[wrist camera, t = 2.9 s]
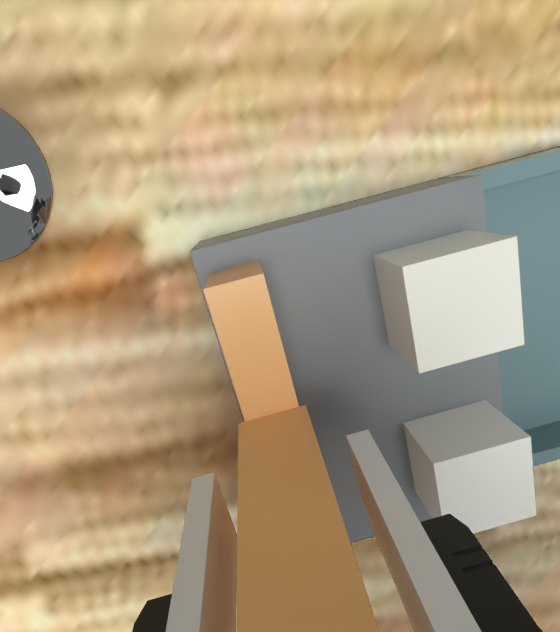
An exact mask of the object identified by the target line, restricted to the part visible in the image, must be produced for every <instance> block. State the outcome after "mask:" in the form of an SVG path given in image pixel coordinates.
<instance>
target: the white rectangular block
mask: <svg viewBox="0 0 560 632" xmlns="http://www.w3.org/2000/svg"><path fill="white" fill-rule="evenodd" d="M373 257H374V263H375V269H376V274H377V280H378V285H379V291H380V296H381V302H382V308H383V313H384V319H385V324H386V330H387V335H388V341H389V345H390V346H391V347H392V348H393V349H394V350H395V351H396V352H397V353H398V354H399V355H400V356H401V357H402V358H403V359H405V360H406V361H407V362H408V363H409V364H410V365H411V366H412V367H413V368H414V369H415V370H416V371H417V372H418V373H423V372H427V371H430V370H434V369H437V368H441V367H445V366H448V365H452V364H456V363H459V362H463V361H467V360H470V359H474V358H477V357H481V356H485V355H488V354H492V353H496V352H499V351H503V350H506V349H510V348H514V347H517V346H521V345H525V344H524V329H523V315H522V300H521V286H520V271H519V257H518V242H517V236H512V235H504V234H496V233H488V232H480V231H472V230H466V231H462V232H458V233H454V234H451V235H447V236H443V237H439V238H436V239H432V240H428V241H424V242H421V243H417V244H413V245H410V246H406V247H402V248H398V249H395V250H391V251H387V252H383V253H380V254H376V255H373Z"/></svg>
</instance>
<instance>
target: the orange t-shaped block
mask: <svg viewBox="0 0 560 632" xmlns="http://www.w3.org/2000/svg"><path fill="white" fill-rule="evenodd" d="M203 291H204V294H205V297H206V300H207V303H208V307H209V310H210V313H211V316H212V319H213V322H214V325H215V329H216V332H217V335H218V338H219V341H220V344H221V348H222V351H223V354H224V357H225V360H226V363H227V366H228V370H229V373H230V376H231V379H232V382H233V385H234V388H235V392H236V395H237V398H238V401H239V404H240V407H241V411H242V414H243V417H244V420H245V422H242V423H238V531H237V632H379V630H378V627H377V624H376V620H375V617H374V614H373V611H372V608H371V605H370V602H369V599H368V596H367V593H366V590H365V586H364V583H363V580H362V577H361V574H360V571H359V568H358V565H357V562H356V559H355V556H354V552H353V549H352V546H351V543H350V540H349V537H348V534H347V531H346V528H345V525H344V522H343V519H342V515H341V512H340V509H339V506H338V503H337V500H336V497H335V494H334V491H333V488H332V485H331V481H330V478H329V475H328V472H327V469H326V466H325V463H324V460H323V457H322V454H321V451H320V448H319V444H318V441H317V438H316V435H315V432H314V429H313V426H312V423H311V420H310V417H309V414H308V410H307V407H306V405H303V406H300V407H299V405H298V401H297V397H296V394H295V390H294V386H293V382H292V379H291V375H290V371H289V367H288V364H287V360H286V356H285V352H284V349H283V345H282V341H281V337H280V334H279V330H278V326H277V322H276V319H275V315H274V311H273V307H272V304H271V300H270V296H269V292H268V289H267V285H266V281H265V277H264V274H263V271H262V268H261V264H260V261H259V260H257V261H253V262H250V263H246V264H242V265H238V266H235V267H231V268H227V269H223V270H220V271H216V272H212V273H210V274H209V276H208V279H207V281H206V284H205V286H204V288H203Z"/></svg>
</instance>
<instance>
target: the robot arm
mask: <svg viewBox="0 0 560 632" xmlns="http://www.w3.org/2000/svg"><path fill="white" fill-rule="evenodd" d="M346 438H347V442H348V446H349V451H350V455H351V459H352V463H353V468H354V472H355V476H356V481H357V485H358V489H359V494H360V498H361V501H362V504H363V506H364V509H365V511H366V514H367V516H368V519H369V521H370V524H371V526H372V528H373V531H374V533H375V536H376V538H377V541H378V543H379V546H380V548H381V551H382V553H383V556H384V558H385V561H386V563H387V565H388V568H389V570H390V573H391V575H392V578H393V580H394V583H395V585H396V588H397V590H398V593H399V595H400V598H401V600H402V602H403V605H404V607H405V610H406V612H407V615H408V617H409V620H410V622H411V625H412V627H413V630H414V632H542V630H541V629H540V628H539V627H538V626H537V624H536V623H535V621H534V620H533V619H532V617H531V616H530V614H529V613H528V611H527V610H526V609H525V607H524V606H523V604H522V603H521V601H520V600H519V599H518V597H517V596H516V594H515V593H514V591H513V590H512V589H511V587H510V586H509V584H508V583H507V582H506V580H505V579H504V577H503V576H502V574H501V573H500V572H499V570H498V569H497V567H496V566H495V565H494V564H493V563H492V560H491V559H490V557H489V556H488V554H487V553H486V552H485V550H484V549H482V547H481V544H480V543H479V542H478V540H477V539H476V537H475V536H474V534H473V533H472V532H471V530H470V529H469V527H468V526H466V525H465V524H464V523H462V522H461V521H459V520H458V519H457V518H455V517H454V516H452V515H451V514H446V515H443V516H439V517H436V518H432V519H429V520H425V521H422V522H420V521H419V519H418V518H417V516H416V514H415V512H414V511H413V509H412V507H411V505H410V503H409V502H408V500H407V498H406V496H405V495H404V493H403V491H402V489H401V487H400V486H399V484H398V482H397V480H396V479H395V477H394V475H393V473H392V471H391V470H390V468H389V466H388V464H387V463H386V461H385V459H384V457H383V455H382V454H381V452H380V450H379V448H378V446H377V445H376V443H375V441H374V439H373V438H372V436H371V434H370V432H369V430H368V429H367V430H364V431H360V432H357V433H353V434H349V435H346ZM236 592H237V534H236V531H235V528H234V526H233V523H232V520H231V517H230V514H229V512H228V509H227V506H226V503H225V501H224V498H223V495H222V492H221V489H220V487H219V484H218V481H217V478H216V476H215V473H214V472H213V473H209V474H206V475H202V476H198V477H195V478H192V481H191V487H190V493H189V498H188V504H187V510H186V516H185V522H184V527H183V533H182V539H181V545H180V551H179V557H178V562H177V568H176V574H175V580H174V586H173V591H172V594H170V595H166V596H163V597H159V598H156V599H152V600H149V601H147V602H146V604H145V606H144V608H143V609H142V611H141V613H140V615H139V616H138V618H137V620H136V622H135V623H134V627H133V631H132V632H236Z"/></svg>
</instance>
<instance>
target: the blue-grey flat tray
mask: <svg viewBox="0 0 560 632" xmlns="http://www.w3.org/2000/svg"><path fill="white" fill-rule="evenodd" d="M480 174H482V181H483V192H484V203H485V214H486V225H487V232H488V233H496V234H504V235H512V236H517V242H518V257H519V271H520V286H521V300H522V315H523V329H524V344H525V345H521V346H517V347H514V348H510V349H506V350H503V351H499V352H498V357H499V368H500V379H501V390H502V401H503V412H504V415H505V416H506V417H507V418H509V419H510V420H511V421H512V422H514V423H515V424H516V425H517V426H518V427H520V428H521V429H522V430H523V431H525V432H526V433H527V434H528V435H530V436H531V446H532V460H533V466H536V465H540V464H543V463H547V462H550V461H554V460H557V459H560V146H559V147H555V148H552V149H548V150H544V151H540V152H536V153H533V154H529V155H525V156H521V157H517V158H514V159H510V160H506V161H502V162H499V163H495V164H491V165H487V166H483V167H480V168H476V169H472V170H468V171H465V172H461V173H457V174H453V175H449V176H446V177H442V178H438V179H444V178H453V177H462V176H471V175H480Z"/></svg>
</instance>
